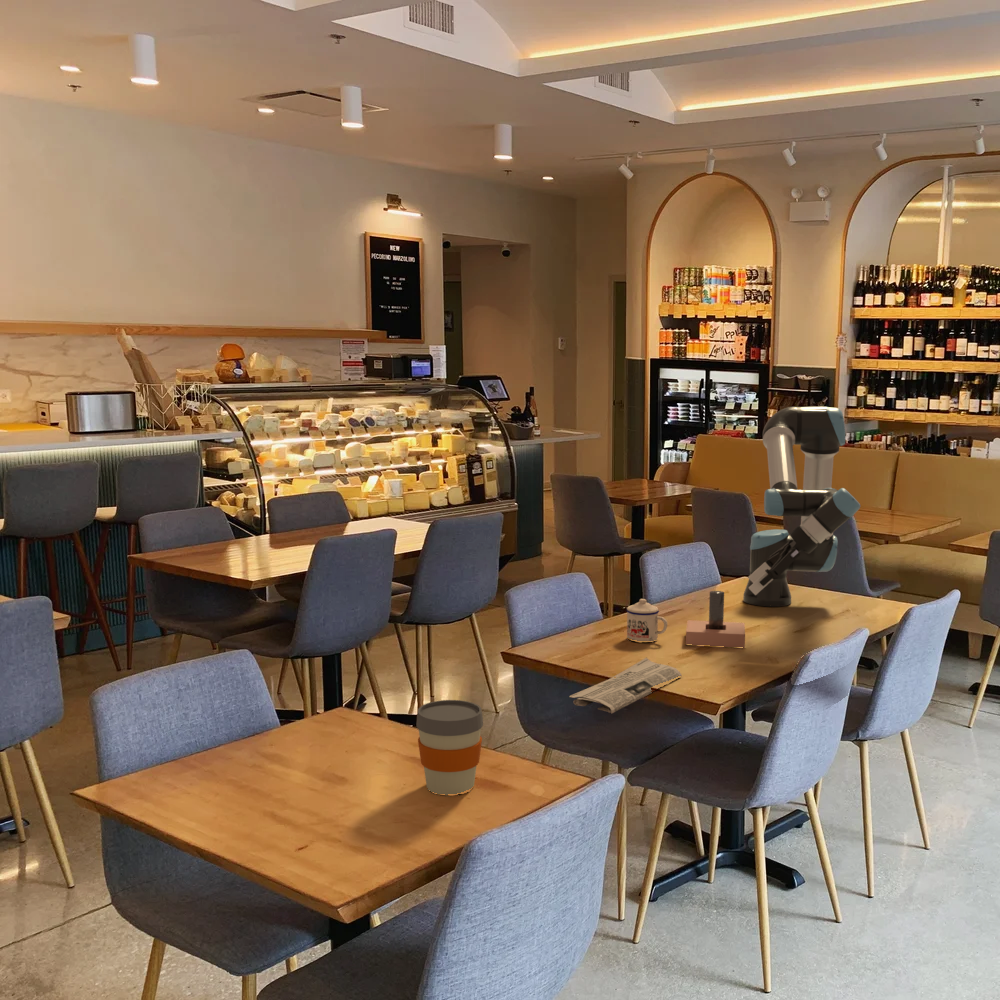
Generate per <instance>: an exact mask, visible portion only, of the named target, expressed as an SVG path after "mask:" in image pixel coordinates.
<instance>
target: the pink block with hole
mask: <svg viewBox="0 0 1000 1000" xmlns="http://www.w3.org/2000/svg"><path fill="white" fill-rule="evenodd" d="M745 625H746V623H745V622H738V621H737V622H736V621H735V622H734V621H723V630H713V629H709V620H696V619H695V620H690V619H688V620H687V622H686V631H685V645H686V644H692V645H710V646H724V647H743V648H745V649H746V626H745Z"/></svg>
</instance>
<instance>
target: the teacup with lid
mask: <svg viewBox="0 0 1000 1000" xmlns="http://www.w3.org/2000/svg"><path fill="white" fill-rule="evenodd" d="M625 610H626V612H627V614H626V615H627V616H626V639H627V638H629V639H632V640H637V641H654V640H658V639H657V638H658V636H659V635H662V634H664V633H665V632H666V630H667V628H668V621H667V619H666V618H665V617H663V616H659V612H660V611H659V608H658V607H657V606H656V605H652V604H651V603H649V602H647V599H645V598H640V599H639V601H638V602H636V603H634V604H632V605H629V606H628V607H626V609H625ZM659 620H660V621H662V622H663V628H662V629H661V630H659V628H658V626H659Z"/></svg>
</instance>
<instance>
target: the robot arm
mask: <svg viewBox="0 0 1000 1000" xmlns="http://www.w3.org/2000/svg"><path fill="white" fill-rule="evenodd" d="M765 423H766V424H765V425H764V427H763V430H762V444H763V446H764V447H765V449H766V454H767V455H766V456H767V466H768V476H769V488H767V489H765V490H764V497H763V499H764V500H763V507H764V508H763V511H764V514H766V515H768V516H777V517H800V525H798V526H797V527H796V528H794V529H793V530H792V531H791V532H790V533H789V531H788V530H787V529H778V528H777V529H766V530H761V531H757V532H755V533H753V534H752V535H751V537H750V546H749V550H750V557H749V558H750V560H749V575H748V576H747V578H748V580H747V583H746V586H745V589H744V592H743V597H742V598H743V600H742V601H743V602H744V603H746V604H749V605H753V606H759V607H771V608H773V607H777V608H778V607H784V606H789V605H791V604H792V594H791V591H790V588H789V584H788V581H787V574H788V571H789V572H792V571H793V572H810V573H811V572H813V573H814V572H815V573H819V572H820V573H821V572H823V573H825V572H826V573H827V572H829V571H831V570H832V569H833V567H834V565H835V564H836V560H837V556H838V545H839V542H838V537H837V536H836V535H834V532H835V531H837V530H838V529H839V527H841V526H842V525H844V523H846V522H847V521H848V520H849V519H850V518H852V517H853V516H855V514H856V513H857V512H858V511H859V510H860V508H861V504H860V502H859V501H858V500H857V499H856V498H855V497H854V495H852V494H851V493H850V492H849V491H848V490H847V489H846V488H844V487H841V488H839V489H836V488H832V486H833V485H832V484H833V483H832V482H833V471H834V458H835V457H834V456H836V455H837V454H838V453H839V452H840V446H841V447H842V446H845V445H846V427H845V426H846V425H845V419H844V414H843V411H842V410H841V409H840V408H838V407H829V406H788V407H785V408H782V409H780V410H779V411H776V412H775V413H774V414H773V415H771V416H770V418H769V419H768V420H767V422H765ZM794 445H799V446H800V448H799V449H800V451H801V452H802V453H803V454H804V465H803V466H804V467H803V468H804V469H803V482H802V483H803V484H802V489H798V481H797V473H796V464H795V455H794V448H793V446H794Z"/></svg>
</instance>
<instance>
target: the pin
mask: <svg viewBox="0 0 1000 1000" xmlns="http://www.w3.org/2000/svg"><path fill="white" fill-rule="evenodd" d="M708 605H709V607H708V621H709V629H713V630H723V622H724V616H725V615H724V614H725V612H724V610H725V592H724V591H722V590H711V591H709V604H708Z"/></svg>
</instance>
